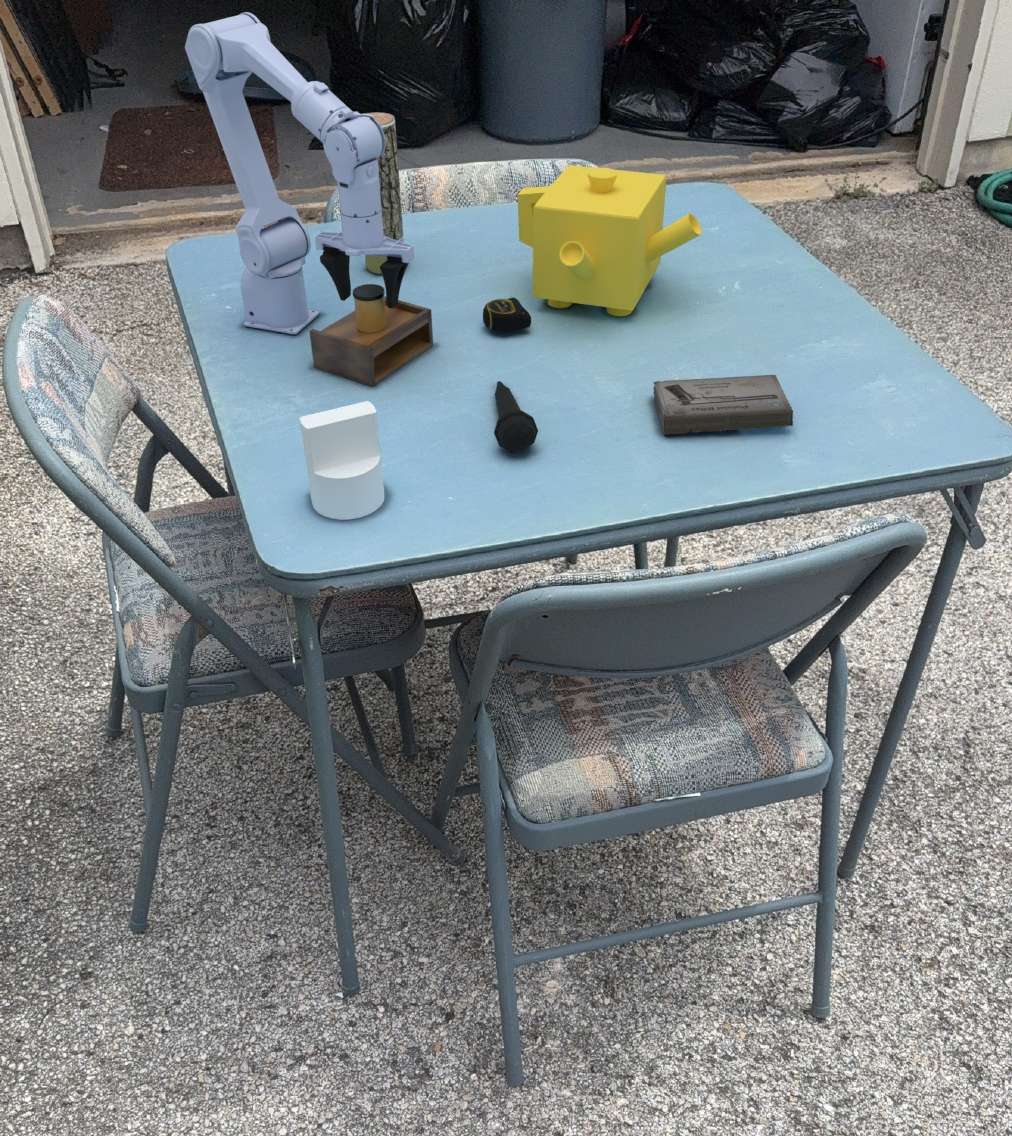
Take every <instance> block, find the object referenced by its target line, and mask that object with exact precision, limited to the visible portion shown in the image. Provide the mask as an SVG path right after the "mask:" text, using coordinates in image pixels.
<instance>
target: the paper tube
mask: <svg viewBox="0 0 1012 1136" xmlns="http://www.w3.org/2000/svg"><path fill="white" fill-rule="evenodd" d="M364 114H369V115H372V116H373V117H374V118H375V120H376V121H377V122H378V123H379V124H380V126H381V128H382V130H383V132H384V135H385V141H386V146H385V151H384V153H383V154H382V156H381V157H379V158H377V160H378V170H379V183H380V196H381V209H382V222H383V234H384V236H385V237H388V238H391V239H394V240H396V241H399V242H402V243H405V239H404V226H403V225H404V223H403V212H402V211H403V209H402V198H401V197H402V196H401V184H400V183H401V182H400V171H399V170H400V169H399V156H398V143H397V140H398V139H397V128H396V119H395V116H394V115H393V114H391V113H386V112H366V113H364ZM373 161H374V160H373ZM364 258H365V259H364V260H365V267H366V269H367V271H369V272H371V273H372V274H375V275H382V272H381V270H380V266H381V265H382V264H383V263H384V262H385V261H387V258H384V257H378V256H371V255H364Z"/></svg>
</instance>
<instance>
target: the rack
mask: <svg viewBox="0 0 1012 1136" xmlns="http://www.w3.org/2000/svg"><path fill="white" fill-rule="evenodd" d="M384 298H385V310H386V322H387V326H386V328H385V329H384V330H382V331H379V332H374V333H366V332H362V331H360V330H358V328H357V323H356V313H355V310H353V311H351V312H350V313H348V314H347V315H345V316H343V317H341V318H340V319H338V320H336V321H334V322H333V323H331V324H330V325H328V326H327V327H325V328H323V329H321V330H318V329H315V328H311V329H310V330H309V331H308V332H309V340H310V347H311V356H312V363H313V368H314V369H317V370H320V371H323V372H326V373H329V374H332V375H336V376H339V377H342V378H345V379H348V380H350V381H354V382H357V383H359V384H363V385H365V386H366V385H367V386H369V387H372V388H373V387H374V386H377V385H378V384H379V383H380V382H382V381H383V380H385V379H386V378H387V377H389V376H391V375H392V374H393V373H395V372H396V371H398V370H400V369H401V368H402V367H404V366H405V365H407V364H408V363H410V362H411V361H412V360H414V359H416V358H417V357H418V356H420V355H422V354H423V353H424V352H426V351H428V350H429V349H430V348H432V347H433V346H434V335H433V334H434V333H433V316H432V309H431V308H428V307H425V306H421V305H417V304H414V303H410V302H407V301H403V300H400V299H398V304H397V305H396V306H395V307H394V308H388V306H387V301H386V295H384Z"/></svg>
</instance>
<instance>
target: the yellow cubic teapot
mask: <svg viewBox="0 0 1012 1136" xmlns="http://www.w3.org/2000/svg"><path fill="white" fill-rule="evenodd" d="M666 187H667V175H666V174H659V173H650V172H641V171H640V172H639V171H631V170H622V169H621V170H620V169H612V168H610V167H592V166H591V167H590V166H581V165H571V164H569V165H568V166H567V167H565V169H564V170H563V171H562V173H560V174H559V176H558V177H557V178H556V179H555V180H554V182H553V183H552V184H551V185H544V186H531V187H523V188H522V189H521V190H520V191H519V192H518V194H517V217H518V241H519V242H520V243H523V244H525V245H527V246H528V247H530V248H532V298H536V299H543V300H547V305H548V306H550V307H552V308H555V309H565V308H568V307H571V306H572V305H573V304H580V305H588V306H595V307H602V308H606V312H607V313H608V314H609V315H611V316H613V317H614V316H615V317H625V316H628V315H631V314H632V313H633V311H634V310H635V308H636V306H637V304H638V302H639V301H640V299H641V297H642V296H643V294H644V292H645V290H646V288H647V287H648V285H649V283H650V281H651V280H652V278H653V276H654V274H655V273H656V271H657V269H658V268H659V265H660V263H661V257H663V256H664V255H666V254H667V253H670V252H671V251H673V250H675V249H677V248H680V247H681V246H683V245H685V244H686V243H689V242H691V241H692V240H694V239H696V238H698V237H700V236H701V235H702V234H703V230H702V227H701V224H700V222H699V221H698V219H697V217H696V216H695V215H694V214H693V213H691V212H689V213H688V214H686V215H683V216H682V217H681V218H678V219H677V220H676V221H674V222H673V223H671V224H669V225H667V226H665V227H664V216H665V204H666V203H665V202H666V189H667V188H666Z"/></svg>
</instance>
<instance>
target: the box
mask: <svg viewBox="0 0 1012 1136" xmlns="http://www.w3.org/2000/svg"><path fill="white" fill-rule="evenodd" d="M653 385H654V386H653V388H652V389H653V401H654V406H655V408H656V412H657V416H658V419H659V424H660V426H661V430H662V433H663V435H664V436H665V435H680V434H684V435H685V434H689V433H696V434H698V433H702V432H706V433H707V432H722V431H724V432H726V431H735V430H737V431H739V430H753V429H768V428H769V429H770V428H782V427H783V428H784V427H793V425H794V420H793V419H794V410H793V407H792V406H791V404H790V402H789V400H788V398H787V396H786V394H785V392H784V390H783V388H782V386H781V383H780V381H779V379H778V377H777V375H776V374H762V375H759V374H758V375H749V376H748V375H745V376H744V375H743V376H725V377H710V378H708V377H707V378H693V379H692V378H691V379H672V380H663V381H661V380H655V381H653Z"/></svg>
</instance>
